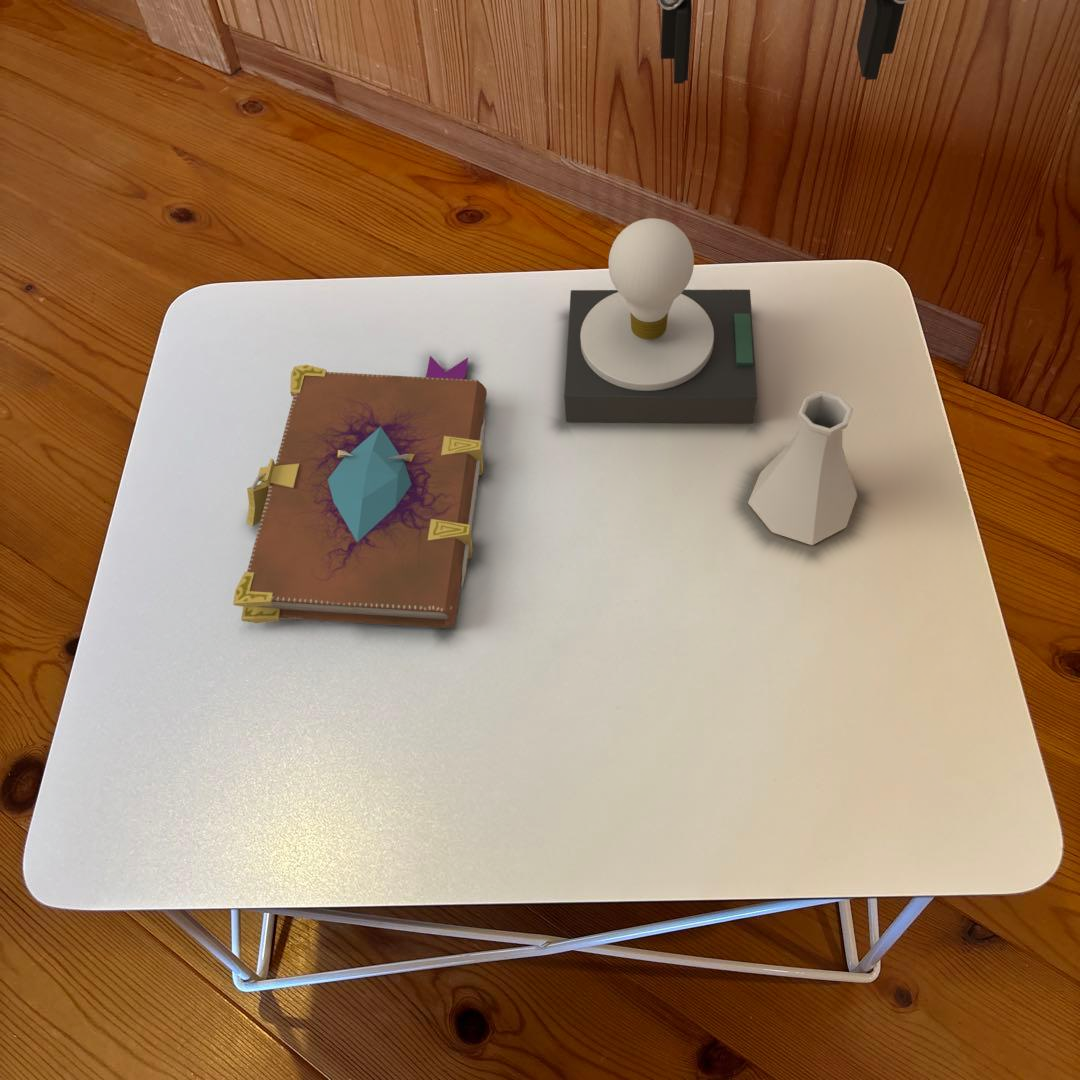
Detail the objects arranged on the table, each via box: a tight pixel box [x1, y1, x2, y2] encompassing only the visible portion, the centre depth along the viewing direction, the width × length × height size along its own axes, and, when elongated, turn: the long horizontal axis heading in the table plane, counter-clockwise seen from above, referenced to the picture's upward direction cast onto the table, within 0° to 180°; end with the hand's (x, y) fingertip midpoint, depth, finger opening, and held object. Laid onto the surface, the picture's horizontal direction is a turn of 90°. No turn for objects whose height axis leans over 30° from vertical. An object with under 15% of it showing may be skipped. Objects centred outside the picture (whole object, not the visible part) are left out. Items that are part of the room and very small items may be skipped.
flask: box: [747, 390, 858, 546], centre depth 69 cm, size 7×7×10 cm
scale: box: [563, 289, 758, 424], centre depth 79 cm, size 14×11×4 cm
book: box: [232, 355, 488, 629], centre depth 75 cm, size 16×25×5 cm, turn 176°
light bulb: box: [608, 217, 695, 340], centre depth 74 cm, size 6×6×10 cm
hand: (772, 66), depth 55 cm, fingers open, 9 cm apart
